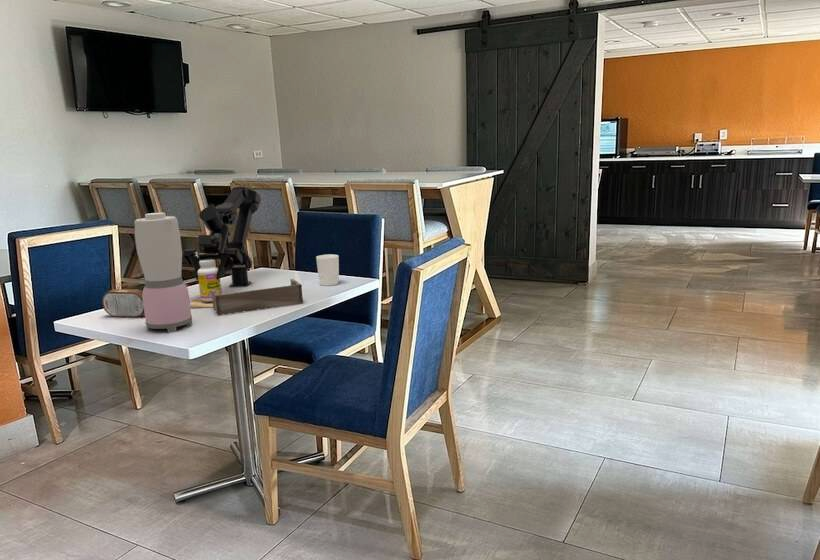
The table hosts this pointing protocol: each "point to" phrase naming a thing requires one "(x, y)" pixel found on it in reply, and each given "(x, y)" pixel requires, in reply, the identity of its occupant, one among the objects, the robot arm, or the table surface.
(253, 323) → the table surface
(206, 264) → the supplement bottle
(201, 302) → the coaster
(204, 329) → the table surface
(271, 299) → the cubby
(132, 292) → the tin
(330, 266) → the white cup
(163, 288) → the blender
